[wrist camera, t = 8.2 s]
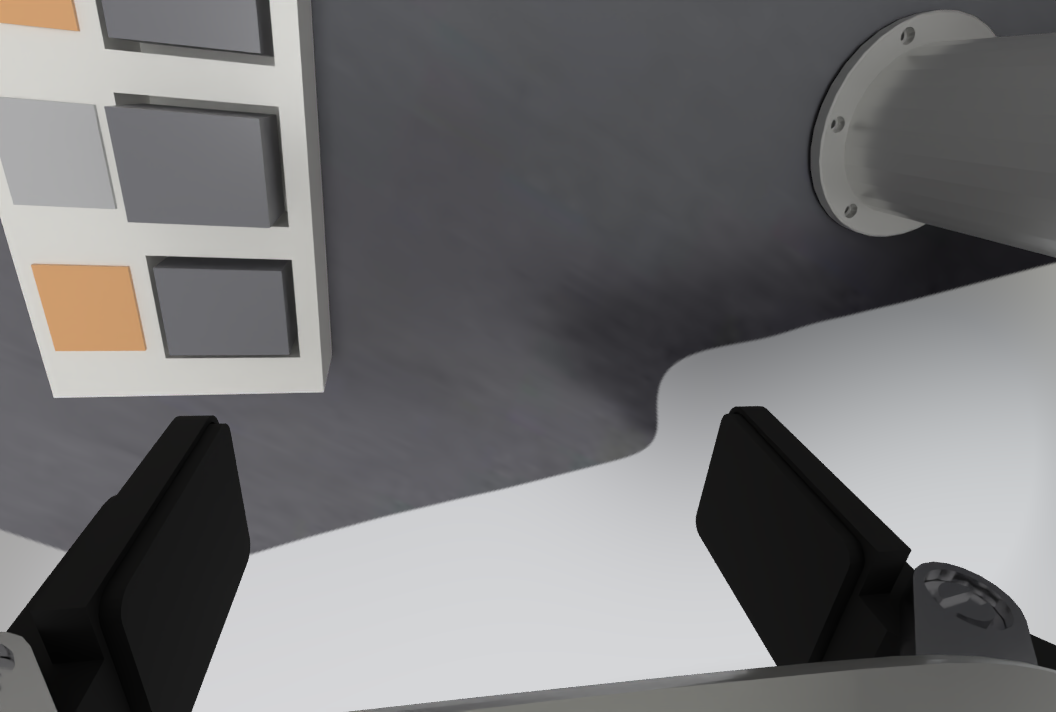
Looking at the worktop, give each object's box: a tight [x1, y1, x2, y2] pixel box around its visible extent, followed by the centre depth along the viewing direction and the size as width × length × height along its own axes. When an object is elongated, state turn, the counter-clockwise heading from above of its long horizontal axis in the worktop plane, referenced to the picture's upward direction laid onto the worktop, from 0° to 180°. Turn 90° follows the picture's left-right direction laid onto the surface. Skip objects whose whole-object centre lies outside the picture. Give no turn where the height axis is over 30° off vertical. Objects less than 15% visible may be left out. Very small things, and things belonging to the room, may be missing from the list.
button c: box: [153, 256, 298, 356], centre depth 27 cm, size 5×4×4 cm
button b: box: [104, 103, 285, 228], centre depth 23 cm, size 5×4×4 cm
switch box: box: [0, 0, 332, 398], centre depth 25 cm, size 12×22×5 cm, turn 175°
